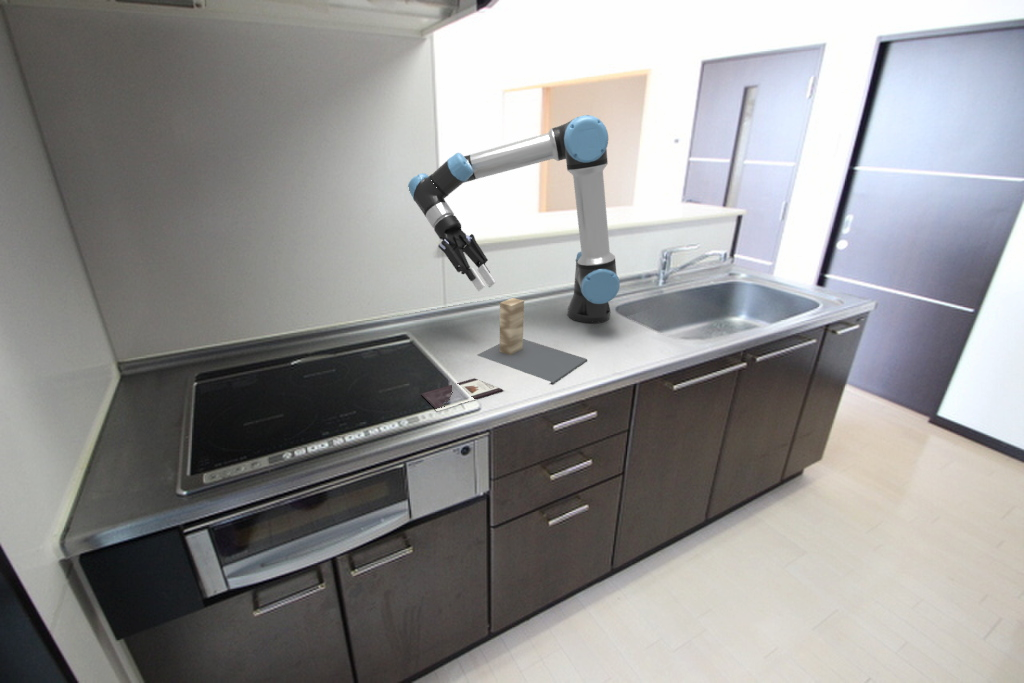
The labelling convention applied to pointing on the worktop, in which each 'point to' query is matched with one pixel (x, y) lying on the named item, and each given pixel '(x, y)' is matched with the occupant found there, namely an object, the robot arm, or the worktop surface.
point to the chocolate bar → (471, 386)
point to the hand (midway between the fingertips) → (486, 286)
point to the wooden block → (511, 326)
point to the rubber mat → (537, 360)
